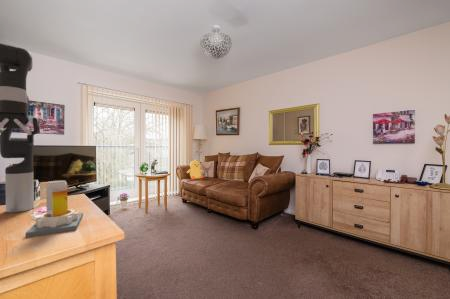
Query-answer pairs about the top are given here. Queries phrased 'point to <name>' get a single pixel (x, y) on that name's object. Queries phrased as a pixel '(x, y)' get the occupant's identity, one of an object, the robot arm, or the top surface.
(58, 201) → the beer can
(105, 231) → the top surface
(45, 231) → the gear socket
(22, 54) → the robot arm
